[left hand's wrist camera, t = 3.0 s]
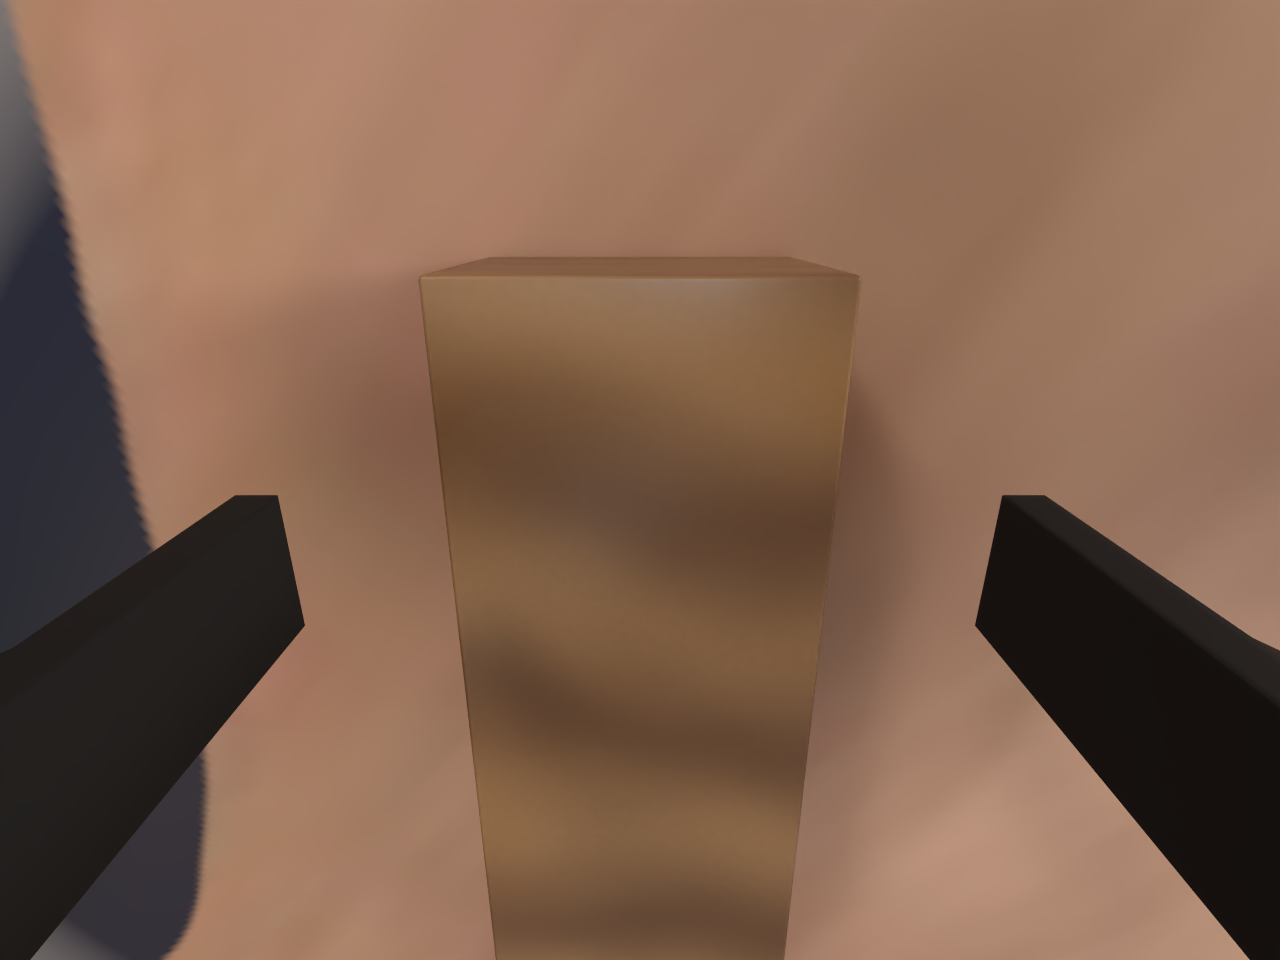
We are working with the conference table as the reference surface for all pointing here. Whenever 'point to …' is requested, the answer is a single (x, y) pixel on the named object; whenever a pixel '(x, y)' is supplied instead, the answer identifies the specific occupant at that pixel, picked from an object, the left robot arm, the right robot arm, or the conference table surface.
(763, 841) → the long wooden beam
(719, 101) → the conference table surface
